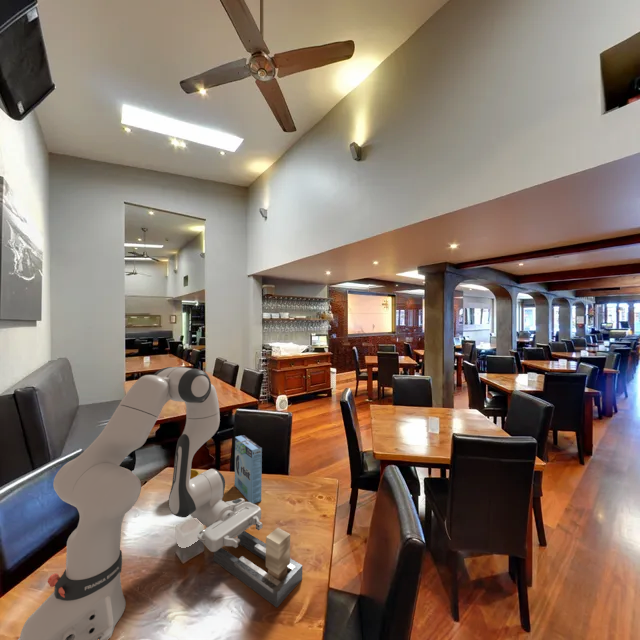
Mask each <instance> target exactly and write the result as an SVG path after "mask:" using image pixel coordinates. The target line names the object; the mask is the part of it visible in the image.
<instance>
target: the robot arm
mask: <svg viewBox="0 0 640 640" xmlns="http://www.w3.org/2000/svg"><path fill="white" fill-rule="evenodd" d="M169 401H174V402H181V403H182V402H184V404H185V411H186V412H185V413H186V414H185V415H186V419H185V426H184V429H183V431H182V433H181V435H180V436H179V437H178V439H177V443H176V448H175V455H174V464H173V465H174V466H173V474H172V484H171V488H170V492H169V495H168V507H169V511H170V513H171V514H172V515H173V516H175V517H177V518H178V517H179V518H187V517H189V516H191V517H192V518H193V519H194V518H197V519H198V520H199V521H200V522H201V523H202V524H203V525H202V524H201V525H202V526H205V528H204V529H202V530H200V532H199V533H198V535H197V539H198V541H200V542H202V543H203V545H204V546H205V547H206V548H207V549H208V550H209V551H210V552H213V553H214V552H216V551H217V550H219V549H220V548H221V547H222V548H224V546H225V547H233V548H235V549H236V548H238V547H240V546H241V545H240V539H238V538H237V536H238V535H239V534H241V533H242V532H244V531H247V530H248V529H249V528H251V527H252V526H253V525H254V526H255V530H257V531H260V530H261V529H262V528H263V526H264V525H263V522H261V521H260V520H261V519H262V509H261V507H260V506H259V505H257V504H256V503H254V504H253V503H251V502H249V501H245V499H244V498H242V497H240V498H236V499H233V500H229V501H224V500H223V498H224V494H225V489H226V480H225V477H224V475H223V473H221V472H220V471H219V470H218V469H215V468H210V469H208V470H204V471H203V472H201V473H199V475H198V476H196V477H194V478H192V479H190V474H191V469H192V462H193V458H194V456H195V454H196V453H197V451H199V449H200V448H201V447H202V446H203V445H204V444H206V443H207V441H209V440H210V439H211V438H212V437H213V436H215V434H216V433H217V431H218V430H219V427H220V422H221V420H220V419H221V416H220V414H221V413H220V404H219V398H218V393H217V389H216V387H215V385H213V384H212V381H211V378H210V376H209V375H208V374H207V373H206V372H205V371H204V370H201V369H198V368H190V367H184V366H176V367H175V366H174V367H173V366H168V367H164V368H161V369H160V370H157V371H156V372H155V373H154V374H145V375H142V376H140V377H139V378H138V379H137V380H136V381H135V382H134V384H133V385H132V386H131V387H130V389H128V391H127V392H126V394H125V396H123V398H122V399H121V401H120V402H119V404H118V405H117V407H116V408H115V411H114V412H113V414H112V415H111V417H110V418H109V420H108V422H107V423H106V425H105V426H104V428H103V430H101V432H100V433H99V435H98V436H97V437H96V438H95V439H94V440H93V441H92V443H91V444H89V446H88V447H87V448H85V450H84V451H82V452H81V454H79V455H77V456H76V457H75V458H73V459H71V460H70V461H67V462H66V463H65V464H64V465H62V467H61V468H59V470H58V471H57V473H56V475H55V476H54V479H53V483H52V484H53V485H52V486H53V489H54V491H55V493H56V495H57V496H58V498H60V500H61V501H63V502H64V503H66V504H68V505H71V506H72V507H75V508H76V509H77V511H78V515H79V520H78V523H77V527H76V528H75V529H74V530H72V532H71V534H70V535H69V536H68V538H67V541H66V554H65V555H66V557H65V558H66V560H65V569H64V572H63V574H62V575H61V576H59V574H58V573H52V574H51V575H50V576H49V578H48V579H47V584H48V585H49V586H50V587H51V588H53V587H54V589H53V590H54V591H53V592H52V593H51V594H50V595H49V596H48V597H47V598H46V600H45V601H44V602H42V603H41V604H40V605H39V607H37V609H35V611H34V612H33V613H31V614H30V615H29V617H28V618H27V619H26V621H25V623H24V625H23V626H22V629H21V632H20V635H19V638H18V639H17V640H98V639H99V640H108V639H109V638H110V639H111V638H112V635H113V634H114V629H115V626H116V625H117V623H118V621H120V619H121V617H122V616H123V614H124V613H125V612H124V611H125V610H126V604H127V603H126V598H125V596H124V594H123V593H124V592H123V588H122V580H121V572H122V567H123V553H122V550H121V539H122V528H123V527H122V525H123V521H124V517H125V515H126V514H127V513H128V512H130V510H132V508H133V507H134V506H135V505H136V503H137V501H138V499H139V498H140V495H141V491H142V484H141V480H140V478H139V477H138V475H136V474H135V473H134V472H133V471H131V470H130V469H128V468H127V467H126V468H125V467H122V466H120V465H121V464H122V462H123V461H124V460H125V459H126V458H127V457H128V456H129V455H130V454H131V453H132V452H134V451H135V450H137V449H140V448H141V447H143V445H144V444H145V443H146V442H147V439H148V437H149V435H150V434H151V431H152V429H153V428H154V426H155V424H156V422H157V420H158V418H159V416H160V415H161V413H162V409H163V408H164V406H165V405H166V404H167V403H168V402H169ZM110 639H109V640H110Z"/></svg>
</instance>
